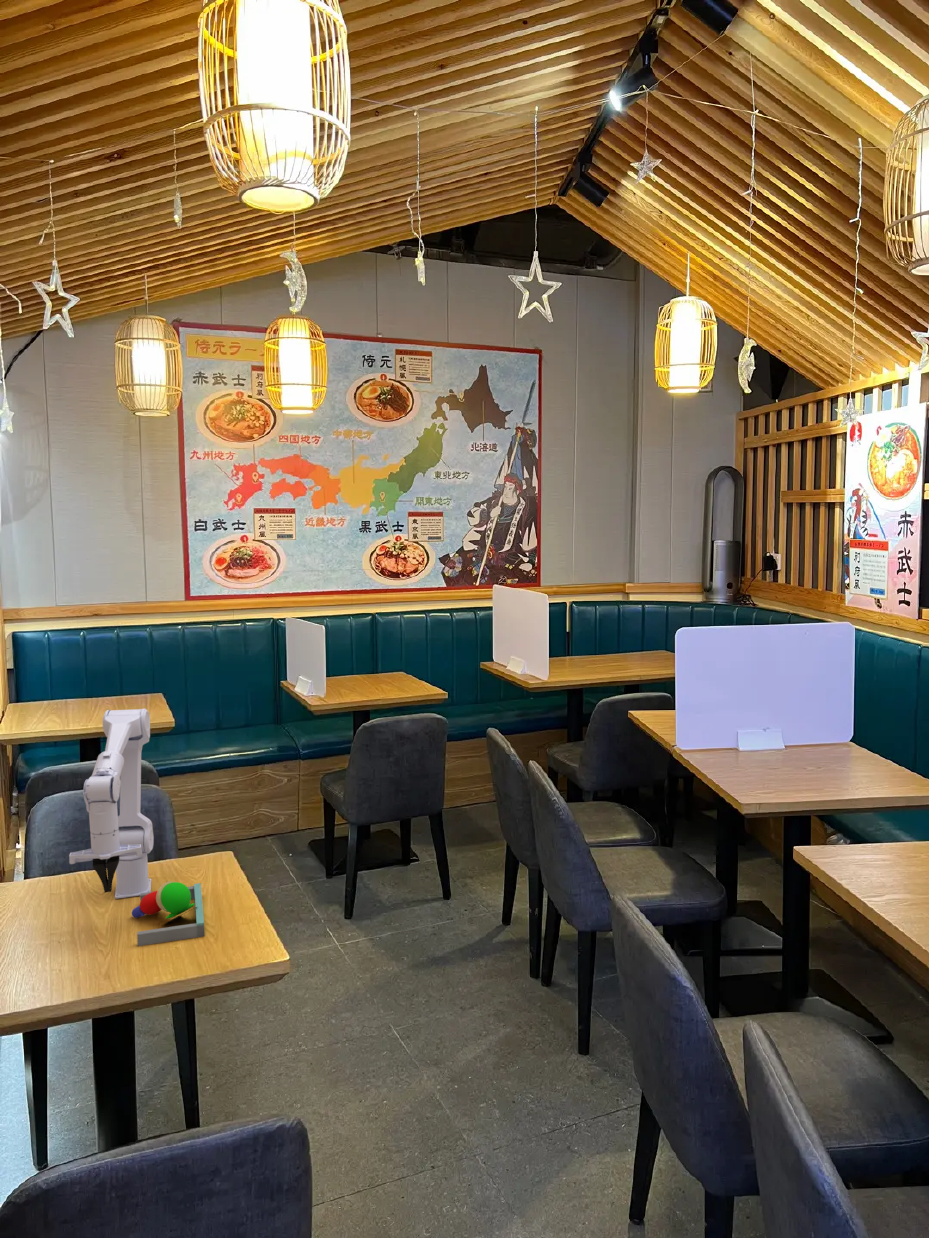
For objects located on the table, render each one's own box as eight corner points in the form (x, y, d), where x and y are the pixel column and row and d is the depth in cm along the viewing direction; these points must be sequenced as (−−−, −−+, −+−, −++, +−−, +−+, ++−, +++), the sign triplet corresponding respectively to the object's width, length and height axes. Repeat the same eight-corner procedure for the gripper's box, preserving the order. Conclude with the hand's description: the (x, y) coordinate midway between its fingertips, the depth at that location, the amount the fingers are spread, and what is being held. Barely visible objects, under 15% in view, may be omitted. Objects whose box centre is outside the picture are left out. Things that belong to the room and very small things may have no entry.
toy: (136, 938, 200) (177, 916, 193) (122, 905, 202) (162, 882, 195) (166, 923, 208) (206, 901, 201) (152, 891, 209) (191, 869, 202)
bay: (141, 903, 211) (140, 890, 210) (201, 895, 215) (200, 882, 215) (137, 946, 189) (136, 932, 189) (204, 936, 193) (204, 922, 193)
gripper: (66, 840, 190) (70, 902, 191) (139, 831, 194) (142, 892, 196) (69, 829, 196) (73, 889, 198) (140, 821, 201) (143, 880, 202)
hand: (108, 890), depth 197 cm, fingers closed
